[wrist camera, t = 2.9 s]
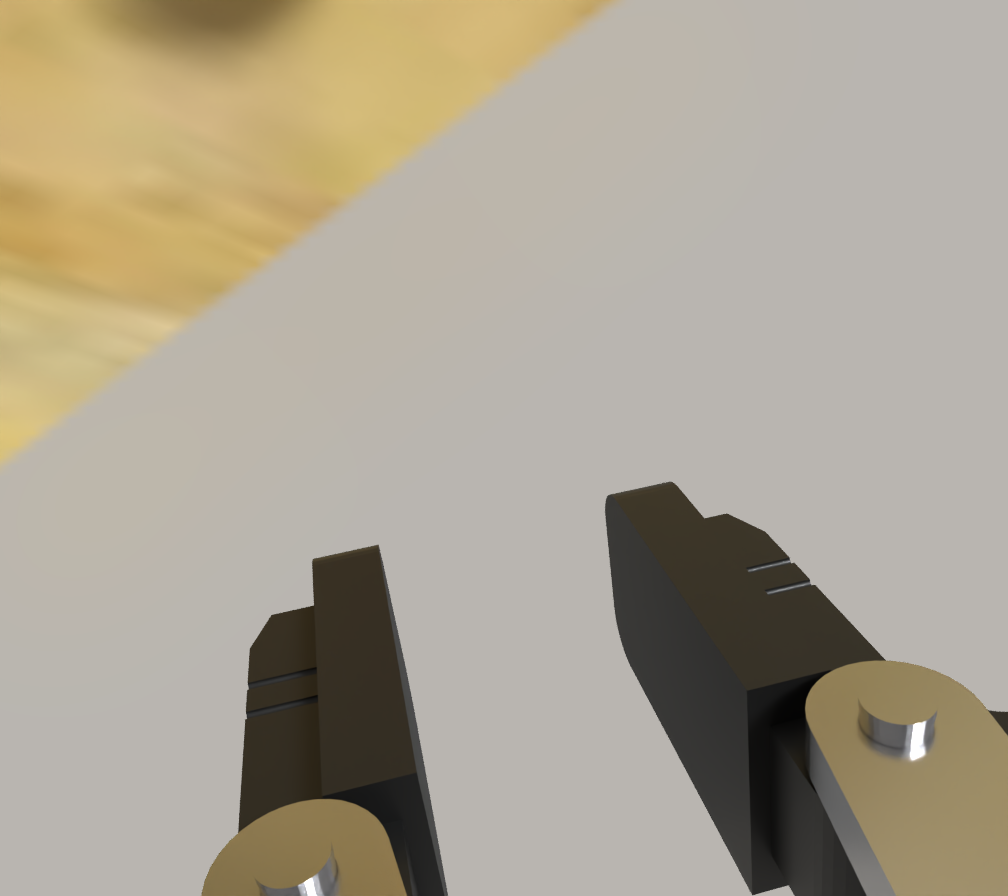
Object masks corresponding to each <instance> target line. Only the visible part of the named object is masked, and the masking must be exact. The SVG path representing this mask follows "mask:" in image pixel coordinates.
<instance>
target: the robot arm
mask: <svg viewBox="0 0 1008 896" xmlns="http://www.w3.org/2000/svg"><path fill="white" fill-rule="evenodd" d="M605 515H606V526H607V536H608V547H609V557H610V567H611V577H612V587H613V597H614V607H615V615H616V621H617V626H618V630H619V635H620V638H621V642H622V645H623V648H624V651H625V654H626V657H627V659H628V661H629V664H630V666H631V667H632V670H633V671H634V673H635V675H636V677H637V679H638V681H639V683H640V685H641V686H642V688H643V690H644V692H645V694H646V696H647V698H648V700H649V702H650V703H651V705H652V707H653V709H654V711H655V713H656V715H657V717H658V718H659V720H660V722H661V724H662V726H663V728H664V730H665V732H666V734H667V735H668V737H669V739H670V741H671V743H672V745H673V747H674V748H675V750H676V752H677V754H678V756H679V758H680V760H681V762H682V764H683V765H684V767H685V769H686V771H687V773H688V775H689V777H690V778H691V780H692V782H693V784H694V786H695V788H696V790H697V792H698V794H699V796H700V798H701V799H702V801H703V803H704V805H705V807H706V809H707V811H708V813H709V814H710V816H711V818H712V820H713V822H714V824H715V826H716V828H717V829H718V831H719V833H720V835H721V837H722V839H723V841H724V843H725V844H726V846H727V848H728V850H729V852H730V854H731V856H732V857H733V859H734V861H735V863H736V865H737V867H738V869H739V871H740V873H741V875H742V877H743V878H744V880H745V882H746V884H747V886H748V888H749V890H750V892H751V893H752V895H755V894H758V893H762V892H765V891H769V890H773V889H776V888H780V887H784V886H787V885H789V887H790V888H791V890H792V892H793V893H794V895H795V896H1008V712H996V711H989V710H987V709H986V707H985V706H984V705H983V703H981V701H980V700H979V699H978V698H977V697H976V696H975V695H974V694H973V693H972V692H971V691H969V690H968V689H967V688H966V687H964V686H963V685H962V684H960V683H958V682H957V681H955V680H953V679H952V678H950V677H948V676H946V675H943V674H941V673H939V672H937V671H934V670H931V669H928V668H925V667H922V666H918V665H914V664H909V663H904V662H896V661H886V660H885V659H884V658H883V657H882V656H881V655H880V654H879V653H878V652H877V651H876V650H875V648H874V647H873V646H872V645H871V644H870V643H869V642H868V641H867V640H866V639H865V638H864V637H863V636H862V635H861V633H860V632H859V631H858V630H857V629H856V628H855V627H854V626H853V625H852V624H851V623H850V622H849V621H848V620H847V619H846V618H845V616H844V615H843V614H842V613H841V612H840V611H839V610H838V609H837V608H836V607H835V606H834V605H833V604H832V603H831V602H830V600H829V599H828V598H827V597H826V596H825V595H824V594H823V593H822V592H821V591H820V590H819V589H818V588H817V587H816V585H811V583H810V579H809V578H808V577H807V576H806V575H805V574H804V573H803V572H802V571H801V569H800V568H799V567H798V566H797V565H796V564H795V563H791V562H790V558H789V557H788V556H787V555H786V553H785V552H784V551H783V550H782V549H781V548H780V547H779V546H778V545H777V544H776V543H775V542H774V541H773V540H772V539H771V538H770V536H769V535H768V534H767V533H766V532H765V531H762V530H760V529H758V528H756V527H754V526H752V525H750V524H748V523H746V522H744V521H742V520H739V519H737V518H735V517H733V516H731V515H729V514H723V515H718V516H714V517H709V518H705V519H704V518H703V516H702V515H701V514H700V513H699V512H698V510H697V509H696V508H695V507H694V506H693V504H692V503H691V502H690V501H689V500H688V498H687V497H686V496H685V495H684V494H683V493H682V491H681V490H680V489H679V488H678V487H677V485H675V484H674V483H673V482H666V483H662V484H657V485H653V486H648V487H644V488H639V489H635V490H630V491H625V492H621V493H616V494H611V495H608V496H607V499H606V504H605ZM312 566H313V567H312V569H313V592H314V606H310V607H306V608H301V609H297V610H292V611H288V612H283V613H279V614H274V615H271V617H270V618H269V620H268V622H267V623H266V625H265V626H264V628H263V629H262V631H261V632H260V634H259V636H258V637H257V639H256V640H255V642H254V643H253V645H252V646H251V648H250V656H249V671H248V686H249V690H247V702H246V714H247V719H246V720H245V735H244V750H243V766H242V783H241V798H240V813H239V831H238V834H237V835H236V836H235V837H234V838H233V839H231V840H230V841H229V843H228V844H227V845H226V846H225V847H224V848H223V850H222V851H221V852H220V853H219V855H218V856H217V858H216V859H215V861H214V863H213V864H212V866H211V867H210V870H209V872H208V874H207V877H206V879H205V882H204V886H203V890H202V896H448V893H447V888H446V882H445V877H444V871H443V866H442V860H441V855H440V849H439V844H438V838H437V833H436V827H435V822H434V816H433V811H432V806H431V800H430V794H429V789H428V783H427V778H426V773H425V767H424V761H423V756H422V750H421V745H420V740H419V734H418V728H417V723H416V718H415V712H414V707H413V702H412V697H411V692H410V687H409V682H408V677H407V672H406V667H405V662H404V658H403V653H402V649H401V644H400V639H399V635H398V630H397V626H396V621H395V617H394V612H393V607H392V603H391V598H390V594H389V589H388V584H387V580H386V576H385V571H384V566H383V562H382V558H381V553H380V549H379V545H375V546H371V547H366V548H362V549H357V550H353V551H348V552H344V553H339V554H334V555H329V556H325V557H321V558H315V559H313V561H312Z"/></svg>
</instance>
